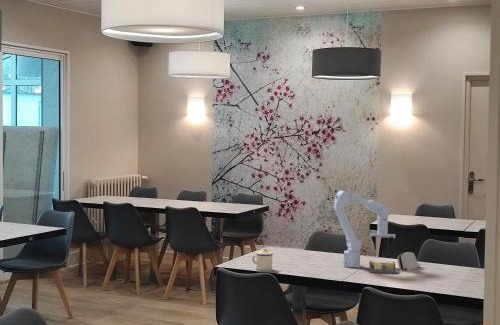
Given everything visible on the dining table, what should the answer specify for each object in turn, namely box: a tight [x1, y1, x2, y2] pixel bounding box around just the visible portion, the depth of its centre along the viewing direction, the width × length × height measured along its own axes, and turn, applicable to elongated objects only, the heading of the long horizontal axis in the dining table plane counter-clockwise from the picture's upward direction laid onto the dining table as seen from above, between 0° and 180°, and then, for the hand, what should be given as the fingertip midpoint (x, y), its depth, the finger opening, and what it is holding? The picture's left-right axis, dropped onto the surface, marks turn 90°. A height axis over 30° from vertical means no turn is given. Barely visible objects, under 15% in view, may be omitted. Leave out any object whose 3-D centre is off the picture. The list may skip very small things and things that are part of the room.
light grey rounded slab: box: [396, 251, 421, 271], centre depth 384 cm, size 17×5×10 cm, turn 140°
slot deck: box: [368, 260, 396, 269], centre depth 381 cm, size 14×9×3 cm, turn 81°
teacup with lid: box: [251, 247, 273, 272], centre depth 371 cm, size 12×9×12 cm
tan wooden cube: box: [385, 262, 394, 270], centre depth 373 cm, size 4×4×4 cm
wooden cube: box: [374, 262, 382, 269], centre depth 369 cm, size 4×4×4 cm
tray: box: [369, 266, 397, 275], centre depth 371 cm, size 14×10×2 cm
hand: (381, 249), depth 388 cm, fingers open, 7 cm apart
